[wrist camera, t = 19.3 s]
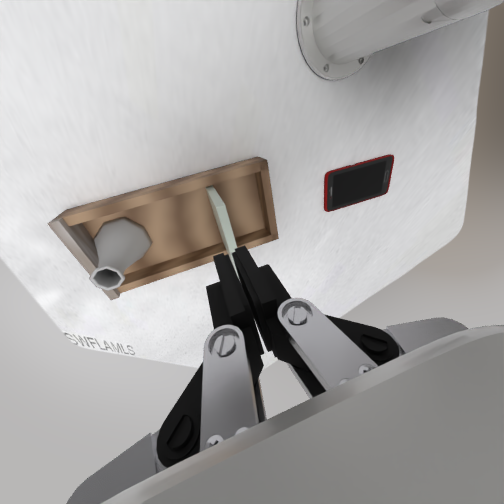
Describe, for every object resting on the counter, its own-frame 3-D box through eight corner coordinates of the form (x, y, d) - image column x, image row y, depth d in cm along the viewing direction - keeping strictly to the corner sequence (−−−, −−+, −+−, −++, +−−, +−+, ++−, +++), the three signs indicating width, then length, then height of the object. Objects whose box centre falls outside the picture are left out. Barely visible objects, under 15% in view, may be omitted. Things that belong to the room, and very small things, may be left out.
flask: (125, 268, 34) (109, 313, 26) (83, 236, 30) (48, 278, 22) (161, 242, 34) (157, 280, 25) (124, 207, 29) (104, 238, 21)
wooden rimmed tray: (257, 156, 33) (269, 161, 28) (270, 229, 40) (280, 241, 36) (65, 209, 28) (47, 223, 24) (118, 280, 36) (110, 300, 32)
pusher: (211, 182, 31) (225, 204, 22) (228, 239, 37) (245, 275, 28) (204, 184, 31) (216, 207, 22) (222, 241, 36) (237, 277, 28)
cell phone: (384, 192, 44) (388, 193, 43) (322, 211, 42) (325, 213, 41) (391, 153, 40) (395, 153, 39) (323, 172, 38) (326, 172, 37)
